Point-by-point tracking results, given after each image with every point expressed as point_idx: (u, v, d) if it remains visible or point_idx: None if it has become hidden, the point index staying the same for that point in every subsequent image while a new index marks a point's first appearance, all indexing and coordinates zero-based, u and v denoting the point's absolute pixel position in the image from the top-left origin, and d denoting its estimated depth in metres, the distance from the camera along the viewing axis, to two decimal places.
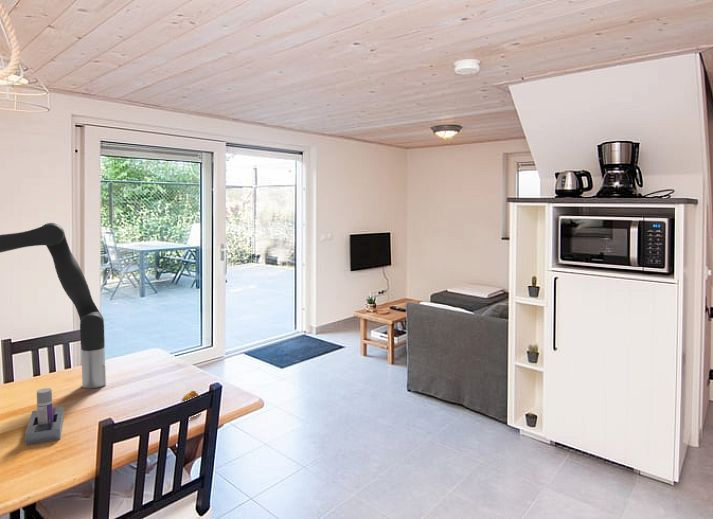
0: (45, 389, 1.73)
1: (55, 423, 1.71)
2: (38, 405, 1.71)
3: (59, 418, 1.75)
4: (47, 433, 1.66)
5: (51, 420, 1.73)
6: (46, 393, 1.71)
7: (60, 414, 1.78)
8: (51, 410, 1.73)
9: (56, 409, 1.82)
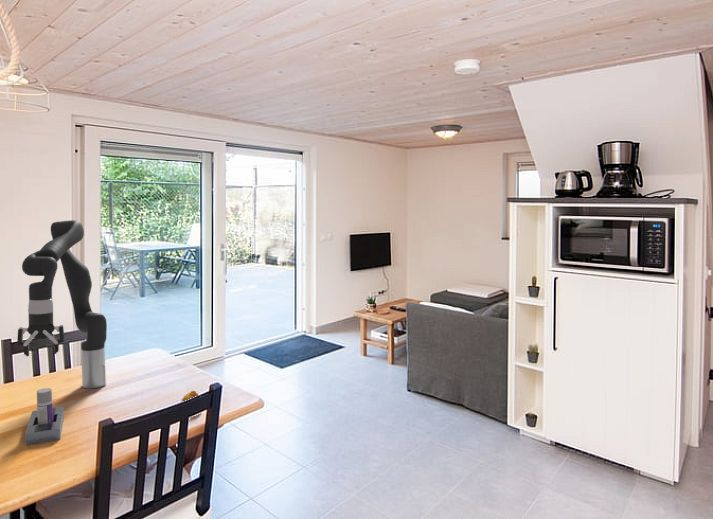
0: (45, 389, 1.73)
1: (55, 423, 1.71)
2: (38, 405, 1.71)
3: (59, 418, 1.75)
4: (47, 433, 1.66)
5: (51, 420, 1.73)
6: (46, 393, 1.71)
7: (60, 414, 1.78)
8: (51, 410, 1.73)
9: (56, 409, 1.82)
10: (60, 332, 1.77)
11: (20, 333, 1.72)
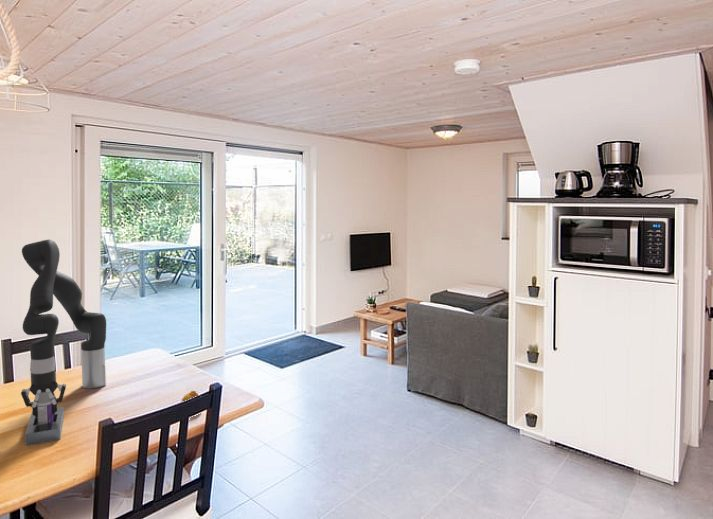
0: None
1: (55, 423, 1.71)
2: (38, 405, 1.71)
3: (59, 418, 1.75)
4: (47, 433, 1.66)
5: (51, 420, 1.73)
6: (46, 393, 1.71)
7: (60, 414, 1.78)
8: (51, 410, 1.73)
9: None
10: (61, 392, 1.74)
11: (24, 395, 1.69)
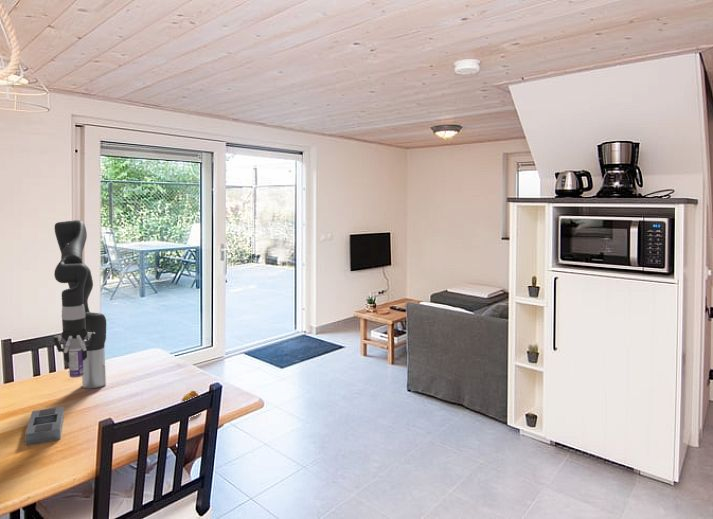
0: None
1: (55, 423, 1.71)
2: (69, 351, 1.79)
3: (59, 418, 1.75)
4: (47, 433, 1.66)
5: (81, 366, 1.81)
6: (77, 340, 1.79)
7: (60, 414, 1.78)
8: (81, 356, 1.81)
9: (56, 409, 1.82)
10: (91, 339, 1.82)
11: (57, 341, 1.77)
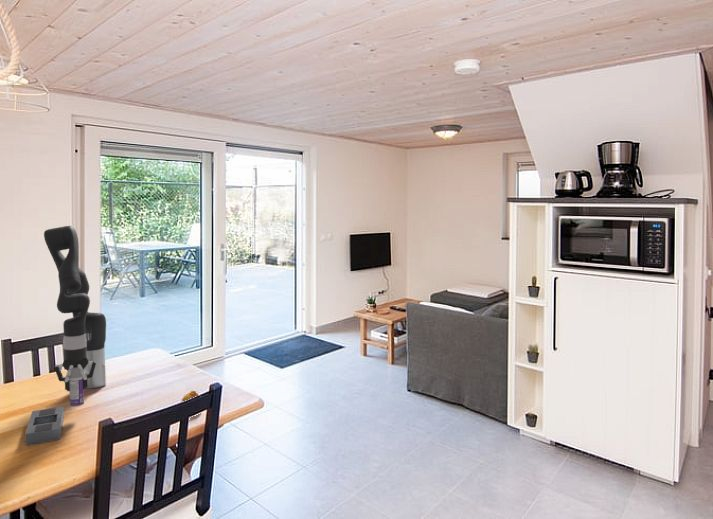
0: None
1: (55, 423, 1.71)
2: (70, 380, 1.80)
3: (59, 418, 1.75)
4: (47, 433, 1.66)
5: (82, 394, 1.83)
6: (78, 369, 1.80)
7: (60, 414, 1.78)
8: (82, 385, 1.82)
9: (56, 409, 1.82)
10: (92, 368, 1.83)
11: (58, 370, 1.78)
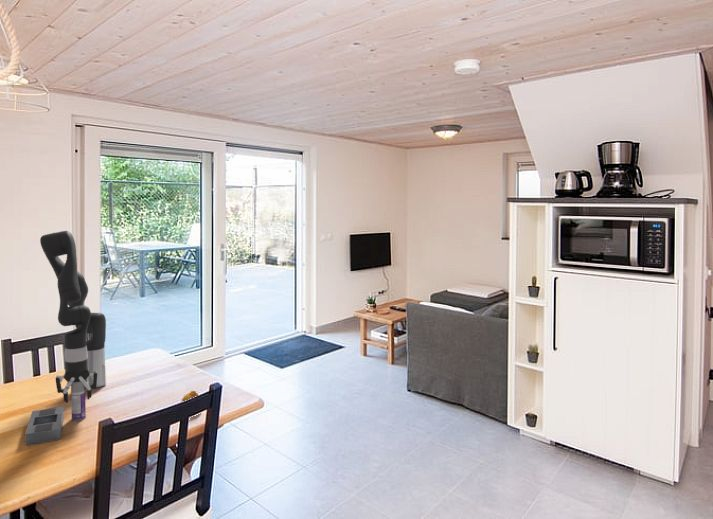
0: None
1: (55, 423, 1.71)
2: (72, 394, 1.81)
3: (59, 418, 1.75)
4: (47, 433, 1.66)
5: (84, 409, 1.83)
6: (80, 383, 1.81)
7: (60, 414, 1.78)
8: (84, 399, 1.83)
9: (56, 409, 1.82)
10: (94, 378, 1.84)
11: (58, 382, 1.78)
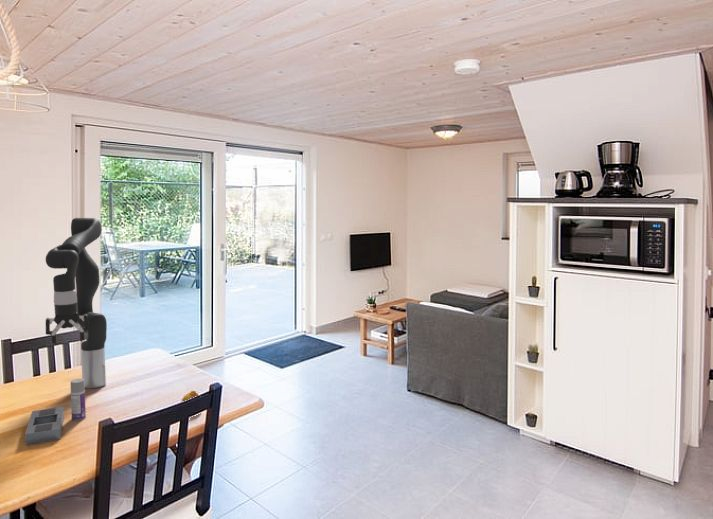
0: (78, 380, 1.83)
1: (55, 423, 1.71)
2: (72, 394, 1.81)
3: (59, 418, 1.75)
4: (47, 433, 1.66)
5: (84, 409, 1.83)
6: (79, 383, 1.81)
7: (60, 414, 1.78)
8: (84, 399, 1.83)
9: (56, 409, 1.82)
10: (85, 321, 1.86)
11: (48, 323, 1.80)
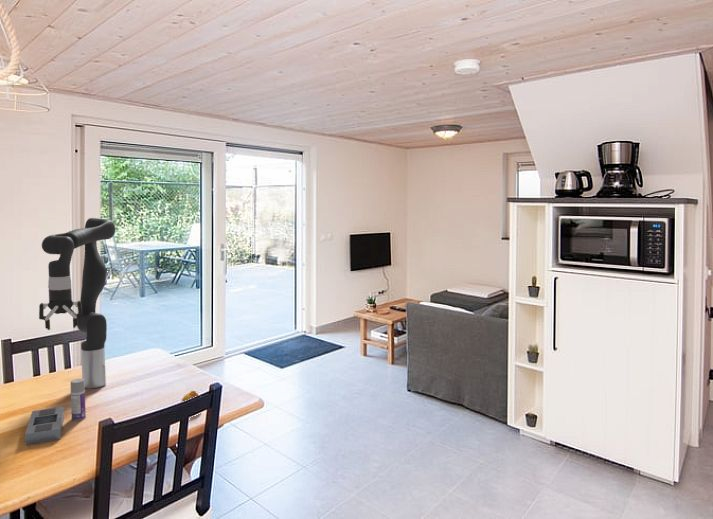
0: (78, 380, 1.83)
1: (55, 423, 1.71)
2: (72, 394, 1.81)
3: (59, 418, 1.75)
4: (47, 433, 1.66)
5: (84, 409, 1.83)
6: (79, 383, 1.81)
7: (60, 414, 1.78)
8: (84, 399, 1.83)
9: (56, 409, 1.82)
10: (78, 307, 1.88)
11: (41, 308, 1.83)
